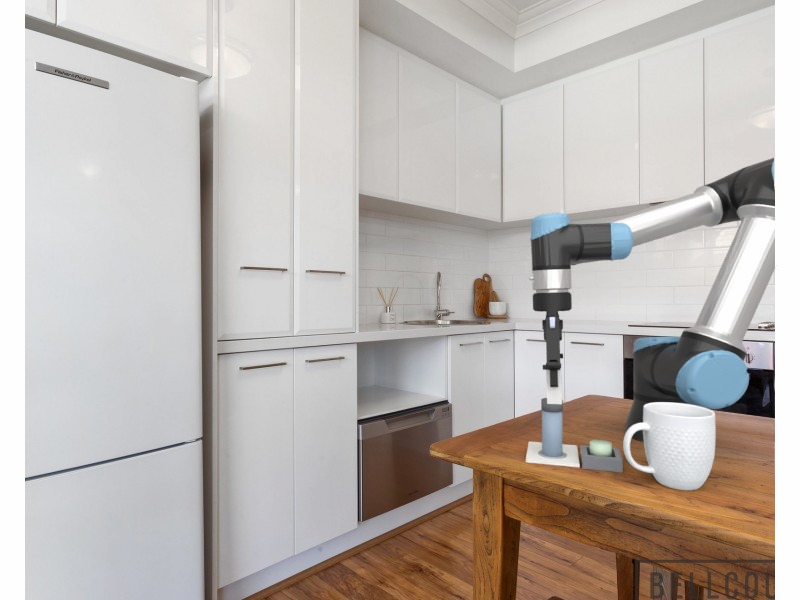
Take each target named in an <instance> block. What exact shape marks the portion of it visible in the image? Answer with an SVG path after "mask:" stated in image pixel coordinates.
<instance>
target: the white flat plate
mask: <svg viewBox="0 0 800 600" xmlns="http://www.w3.org/2000/svg"><path fill="white" fill-rule="evenodd" d="M526 450H527V451H526V456H525V463H529V464H539V465H550V466H561V467H570V468H571V467H572V468H580V466H581V465H580V459H579V452H578V451H579V450H578V445H577V444H576V445H575V444H565V443H563V455H562V456H561V457H548V456H545V455H543V454H542V441H541V442H539V441H530V440H529V441H528V445H527V449H526Z"/></svg>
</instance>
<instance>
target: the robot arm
mask: <svg viewBox="0 0 800 600" xmlns="http://www.w3.org/2000/svg"><path fill="white" fill-rule="evenodd" d="M733 222H740V224H739V225H738V228H737V231H736V232H735V235H734V237H733V239H732V242H731V244H730V246H729V248H728V250H727V253H726V256H725V257H724V259H723V261H722V264H721V266H720V268H719V270H718V273H717V275H716V277H715V280H714V282H713V283H712V286H711V288H710V291H709V293H708V295H707V297H706V300H704V301H705V302H704V303H703V306H702V308H701V311H700V313H699V316H698V317H697V320H696V321H695V324H694V325H693V326H690V327H688V328H686V329H683V331H682V333H681V334H680V336H649V337H639V338H636V339H635V341H634V342H633V349H632V350H633V351H632V356H633V357H632V359H633V361H632V363H633V368H632V369H633V370H632V373H633V377H632V378H633V401H632V404H631V406H630V410H629V412H628V415H627V417H626V421H625V425H624V426H625V429H624V430H625V433H626V432H627V430H628V429H629V428H630V427H631V426H633V425H634V424H637V423H643V407H644V405H645V404H648V403H654V402H671V403H682V404H690V405H695V406H700V407H704V408H707V409H710V410H718V409H719V410H720V409H723V408H724V409H725V408H726V407H730V406H731V405H734V404H735V403H736V402H738V401H739V400H740V399H741V398H742V397H743V396H744V394H745V393H746V391H747V390H748V386H749V383H750V382H749V381H750V373H748V371H747V370H748V367H747V364H746V363H745V362H744V360H745V359H746V356H747V355H748V351H747V350H746V348H745V346H744V344H743V340H744V338H745V336H746V334H747V331H748V329H749V327H750V326H751V323H752V320H753V319H754V316H755V314H756V311H757V309H758V307H759V305H760V303H761V300H762V298H763V295H764V294H765V291H766V290H767V287H768V284H769V283H770V281H771V279H772V276H773V274H774V272H775V270H776V267H775V193H774V157H772V158H769V159H767V160H763V161H759V162H757V163H754V164H751V165H747V166H745V167H743V168H740V169H738V170H736V171H733V172H732V173H729V174H728V175H726V176H724V177H722V178H719V179H717V180H715V181H712V182H710V183H707V184H703V185H702V186H698V187H697V188H696V189H695V190H694V192H693V193H691V194H687V195H684V196H681V197H677V198H675V199H672V200H668V201H664V202H662V203H659V204H655V205H653V206H649V207H646V208H643V209H639V210H637V211H634V212H630V213H627V214H625V215H624V214H623V215H621V216H618V217H615V218H612V219H608V220H604V221H601V222H600V223H599V222H598V223H583V224H582V223H579V224H578V223H571V220H570V216H569V214H567V213H558V212H556V213H555V212H554V213H553V212H551V213H544V214H543V213H542V214H539V215H537V216H535V217H533V218H532V220H531V223H530V224H531V225H530V249H531V253H530V254H531V269H532V270H531V271H532V273H531V274H532V275H529V277H528V280H529V281H532V290H533V291H535V293H533V294H532V310H533V311H535V312H546V313H545V314H546V315H545V318H544V319H542V320H541V321H542V322H541V323H542V331H543V340H544V341H545V344H546V345H545V346H546V348H545V349H546V350H545V351H546V352H545V353H546V363H545V364H542V370H543V371H546V373H545V374H546V375H545V376H546V381H545V382H546V398H547V404H562V400H563V388H562V387H563V386H562V383H563V382H562V363H561V359H564V353H561V345H560V344H561V341H562V339H563V329H564V319H560V314H559V312H569V311H571V310H572V308H573V306H572V305H573V303H572V293H571V292H569V290H570V289H572V266H576V265H579V264H584V263H585V264H587V263H594V262H599V261H600V262H602V261H604V262H605V261H610V262H613V261H617V260H618V261H619V260H620V261H621V260H625V259H627V258H628V257H629V256H630V254H631V253H632V250H633V248H634V247H637V246H641V245H644V244H647V243H650V242H653V241H655V240H660V239H663V238H667V237H669V236H672V235H676V234H679V233H682V232H685V231H688V230H692V229H695V228H699V227H702V226H705V227H708V228H713V227H715V226H718V225H722V224H727V223H733ZM632 438H633V439H635V440H638V441H641V442H644V439H643V430H639V431H637V432H635V433H634V434H633V436H632ZM632 438H631V439H632Z"/></svg>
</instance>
